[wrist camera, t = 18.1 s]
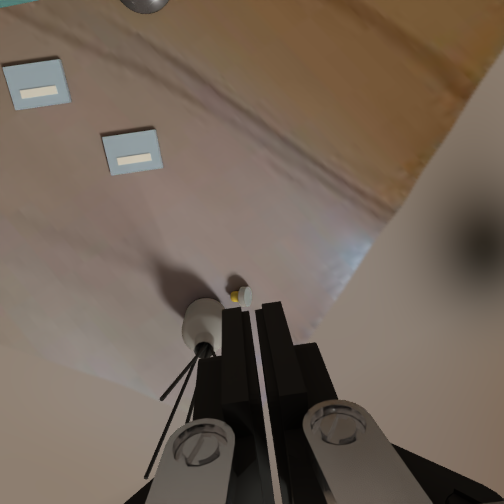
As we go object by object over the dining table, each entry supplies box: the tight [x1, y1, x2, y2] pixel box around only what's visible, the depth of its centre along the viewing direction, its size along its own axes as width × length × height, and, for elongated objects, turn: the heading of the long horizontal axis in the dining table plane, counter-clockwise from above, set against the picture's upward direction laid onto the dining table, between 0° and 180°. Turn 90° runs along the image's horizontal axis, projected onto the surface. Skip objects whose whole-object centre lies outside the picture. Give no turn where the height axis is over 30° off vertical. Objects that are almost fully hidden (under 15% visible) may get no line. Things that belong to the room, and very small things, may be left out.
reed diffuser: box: [144, 287, 252, 479], centre depth 37 cm, size 10×7×20 cm
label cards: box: [2, 59, 163, 176], centre depth 39 cm, size 12×11×1 cm
